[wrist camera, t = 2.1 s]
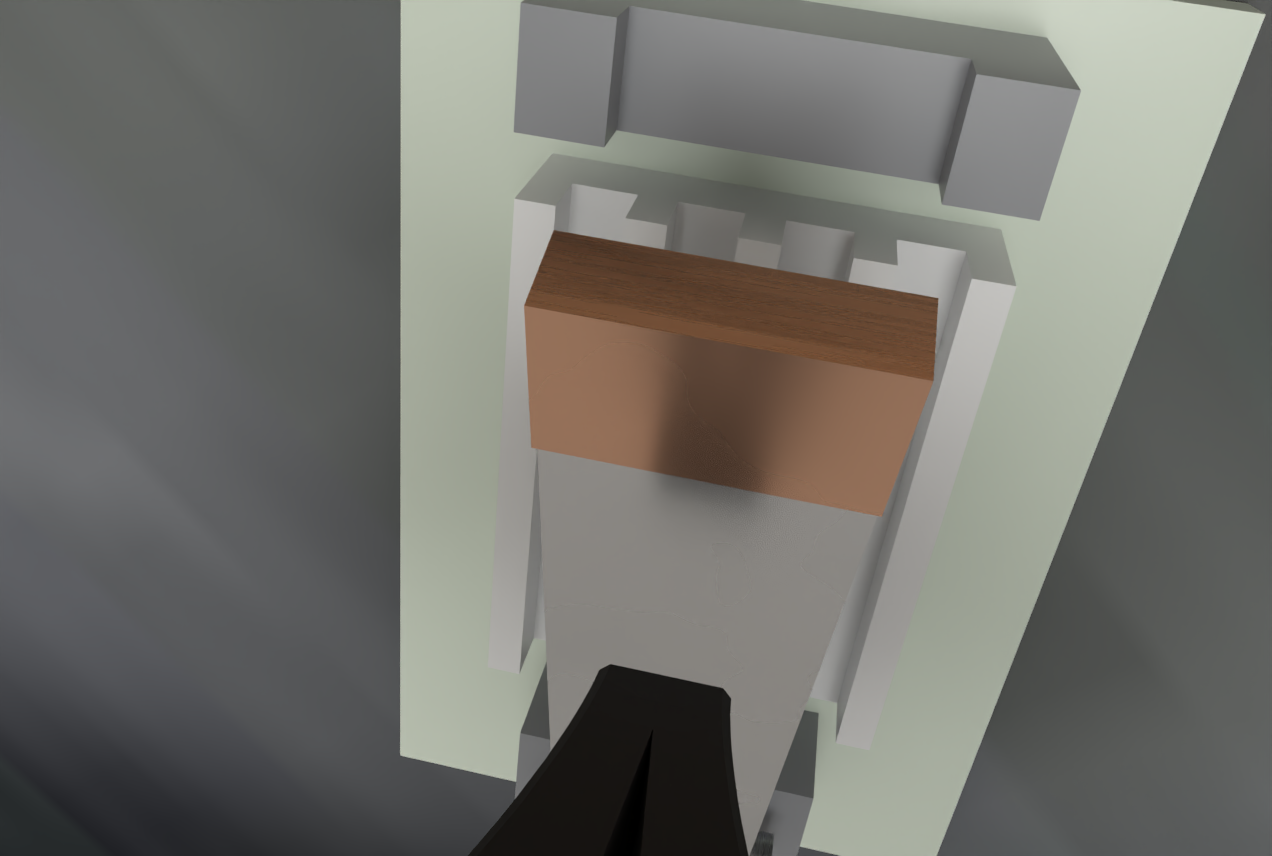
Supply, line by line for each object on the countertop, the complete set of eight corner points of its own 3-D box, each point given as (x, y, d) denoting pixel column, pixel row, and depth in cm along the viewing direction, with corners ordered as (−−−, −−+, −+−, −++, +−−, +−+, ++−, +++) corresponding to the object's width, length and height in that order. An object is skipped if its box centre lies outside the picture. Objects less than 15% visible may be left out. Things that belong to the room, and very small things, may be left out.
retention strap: (768, 843, 21) (760, 903, 20) (544, 792, 22) (528, 848, 21) (990, 300, 10) (988, 390, 9) (509, 214, 10) (473, 296, 10)
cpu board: (927, 845, 25) (934, 1005, 22) (412, 729, 26) (347, 864, 23) (1248, 3, 15) (1347, 65, 12) (420, -119, 17) (310, -92, 13)
